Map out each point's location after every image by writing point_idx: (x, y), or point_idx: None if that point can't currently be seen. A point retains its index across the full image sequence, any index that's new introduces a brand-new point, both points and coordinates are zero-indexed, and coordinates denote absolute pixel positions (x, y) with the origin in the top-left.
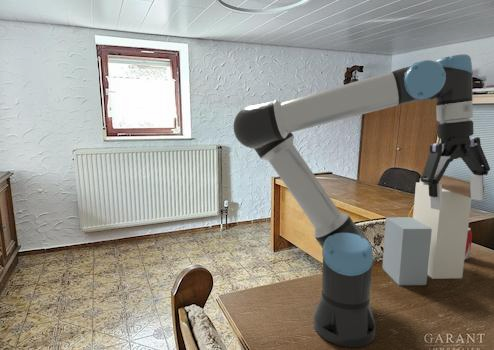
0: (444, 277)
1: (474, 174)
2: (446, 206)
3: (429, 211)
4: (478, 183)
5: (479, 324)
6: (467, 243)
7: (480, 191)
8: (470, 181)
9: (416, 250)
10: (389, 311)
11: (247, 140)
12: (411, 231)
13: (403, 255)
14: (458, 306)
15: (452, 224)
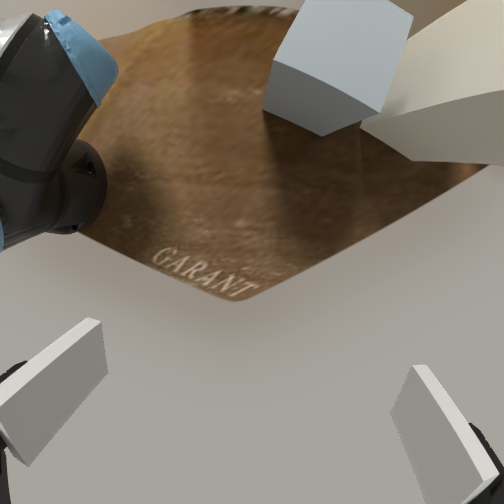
0: (382, 140)
1: (485, 490)
2: (496, 112)
3: (464, 55)
4: (427, 477)
5: (277, 269)
6: None
7: (406, 448)
8: (459, 445)
9: (312, 105)
10: (160, 175)
11: None
12: (304, 76)
13: (273, 92)
14: (301, 219)
15: (469, 134)
